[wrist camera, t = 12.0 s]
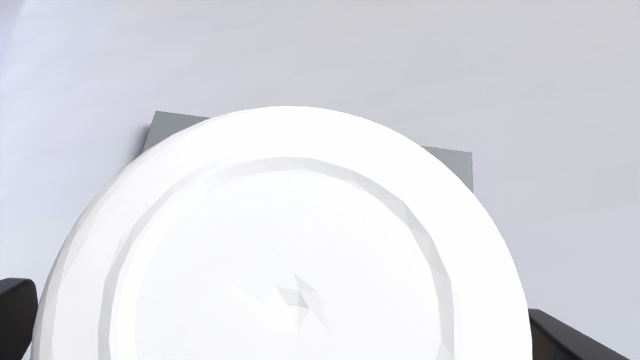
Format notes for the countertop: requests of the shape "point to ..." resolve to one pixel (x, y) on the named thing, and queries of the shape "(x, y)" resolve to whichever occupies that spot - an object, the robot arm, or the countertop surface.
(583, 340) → the robot arm
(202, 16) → the countertop surface
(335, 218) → the sprinkles bottle
